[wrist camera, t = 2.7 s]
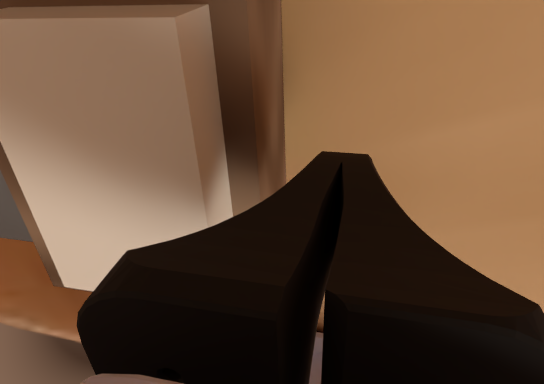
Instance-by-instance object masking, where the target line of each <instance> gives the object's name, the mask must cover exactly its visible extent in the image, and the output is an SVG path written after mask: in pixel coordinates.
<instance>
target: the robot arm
mask: <svg viewBox="0 0 544 384" xmlns="http://www.w3.org/2000/svg"><path fill="white" fill-rule="evenodd" d="M324 293H325V306H324V328H323V333H320V332H316V330H317V323H318V319H319V314H320V309H321V305H322V301H323V297H324ZM77 328H78V332H79V336H80V339H81V343H82V345H83V347H84V350H85V352H86V354H87V356H88V358H89V361H90V363H91V365H92V367H93V369H94V372H95V374H96V375H94V376H90V377H89V378H87V379H86V380H84V381H83V382H81V383H80V384H544V313H543V311H542V309H541V307H540V306H539V305H538V304H536V303H535V302H533V301H531V300H529V299H527V298H525V297H523V296H521V295H519V294H517V293H516V292H514V291H512V290H510V289H508V288H506V287H504V286H502V285H500V284H498V283H497V282H495V281H493V280H491V279H489V278H488V277H486V276H484V275H483V274H481V273H479V272H478V271H476V270H475V269H473V268H472V267H470V266H468V265H467V264H465V263H464V262H462V261H461V260H459V259H458V258H457V257H455V256H454V255H452V254H451V253H449V252H448V251H447V250H446V249H444V248H443V247H442V246H440V245H439V244H438V243H437V242H435V241H434V240H433V239H432V238H430V237H429V236H428V235H427V234H426V233H425V232H424V231H422V230H421V229H420V228H419V227H418V226H417V225H416V224H415V223H414V222H413V221H412V220H411V219H410V218H409V217H408V215H407V214H406V213H405V212H404V211H403V210H402V208H401V207H400V206H399V205H398V203H397V202H396V201H395V199H394V198H393V197H392V195H391V194H390V192H389V191H388V189H387V188H386V186H385V185H384V183H383V181H382V180H381V178H380V176H379V174H378V173H377V171H376V169H375V167H374V164H373V162H372V159H371V157H370V156H369V155H368V154H355V153H340V152H325V151H322V152H321V153H319V154H318V155H317V156H316V157H315V158H314V159H313V160H312V161H311V162H310V163H309V164H308V165H307V166H306V167H305V168H304V169H303V170H302V171H301V172H299V173H298V174H297V175H296V176H295V177H294V178H293V179H291V180H290V181H289V182H288V183H287V184H286V185H284V186H283V187H282V188H280V189H279V190H278V191H276V192H275V193H274V194H272V195H271V196H269V197H268V198H266V199H265V200H263V201H262V202H260V203H258V204H257V205H255V206H253V207H251V208H250V209H248V210H246V211H244V212H242V213H240V214H238V215H236V216H234V217H231V218H229V219H227V220H225V221H223V222H221V223H218V224H216V225H214V226H211V227H209V228H206V229H203V230H201V231H198V232H195V233H192V234H189V235H186V236H183V237H179V238H176V239H173V240H169V241H165V242H161V243H157V244H153V245H149V246H145V247H140V248H136V249H131V250H127V251H126V252H125V254H124V255H123V256H122V257H121V258H120V259H119V260H118V262H117V263H116V264H115V265H114V266H113V268H112V269H111V270H110V271H109V272H108V274H107V275H106V276H105V277H104V279H103V280H102V281H101V282H100V284H99V285H98V286H97V287H96V289H95V290H94V291H93V292H92V294H91V295H90V296H89V297H88V299H87V300H86V301H85V303H84V304H83V306H82V307H81V309H80V310H79V312H78V318H77Z"/></svg>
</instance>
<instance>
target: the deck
mask: <svg viewBox="0 0 544 384" xmlns="http://www.w3.org/2000/svg"><path fill="white" fill-rule="evenodd" d="M184 4H209V12H210V21H211V30H212V38H213V47H214V56H215V64H216V73H217V82H218V91H219V99H220V108H221V117H222V125H223V134H224V143H225V151H226V160H227V169H228V177H229V186H230V195H231V204H232V212H233V217H234V216H236V215H238V214H240V213H242V212H244V211H246V210H248V209H250V208H251V207H253V206H255V205H257V204H258V203H260V202H262V201H263V200H265V199H266V198H268V197H269V196H271V195H272V194H274V193H275V192H276V191H278V190H279V189H280V188H282V187H283V186H284V185H286V170H285V133H284V96H283V60H282V23H281V0H0V9H3V8H8V7H58V6H121V5H184ZM0 171H1V173H2V175H3V177H4V179H5V181H6V184H7V186H8V188H9V190H10V192H11V194H12V197H13V199H14V201H15V203H16V205H17V207H18V210H19V212H20V214H21V216H22V218H23V221H24V223H25V225H26V227H27V229H28V231H29V234H30V236H31V238H32V240H33V242H34V244H35V247H36V249H37V251H38V253H39V255H40V257H41V260H42V262H43V264H44V266H45V268H46V271H47V273H48V275H49V277H50V279H51V281H52V284H53V286H57V287H64V285H63V283H62V280H61V278H60V276H59V273H58V271H57V269H56V267H55V264H54V262H53V260H52V258H51V255H50V253H49V251H48V248H47V246H46V244H45V242H44V239H43V237H42V235H41V233H40V230H39V228H38V226H37V224H36V221H35V219H34V217H33V214H32V212H31V210H30V208H29V205H28V203H27V201H26V199H25V196H24V194H23V192H22V189H21V187H20V185H19V183H18V180H17V178H16V176H15V174H14V171H13V169H12V167H11V164H10V162H9V160H8V158H7V155H6V153H5V151H4V149H3V146H2V144H1V142H0ZM64 288H68V287H64ZM70 289H74V288H70ZM76 290H81V289H76ZM83 291H87V290H83ZM89 292H93V291H89Z"/></svg>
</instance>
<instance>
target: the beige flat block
mask: <svg viewBox="0 0 544 384" xmlns="http://www.w3.org/2000/svg"><path fill="white" fill-rule="evenodd" d="M0 142H1V144H2V146H3V149H4V151H5V153H6V155H7V158H8V160H9V162H10V164H11V167H12V169H13V171H14V174H15V176H16V178H17V180H18V183H19V185H20V187H21V189H22V192H23V194H24V196H25V199H26V201H27V203H28V205H29V208H30V210H31V212H32V214H33V217H34V219H35V221H36V224H37V226H38V228H39V230H40V233H41V235H42V237H43V239H44V242H45V244H46V246H47V248H48V251H49V253H50V255H51V258H52V260H53V262H54V264H55V267H56V269H57V271H58V273H59V276H60V278H61V280H62V283H63V285H64V287H68V288H74V289H81V290H87V291H94V290H95V289H96V287H97V286H98V285H99V284H100V282H101V281H102V280H103V279H104V277H105V276H106V275H107V274H108V272H109V271H110V270H111V269H112V268H113V266H114V265H115V264H116V263H117V262H118V260H119V259H120V258H121V257H122V256H123V255H124V254H125V252H126V251H127V250H131V249H136V248H140V247H145V246H149V245H153V244H157V243H161V242H165V241H169V240H173V239H176V238H179V237H183V236H186V235H189V234H192V233H195V232H198V231H201V230H203V229H206V228H209V227H211V226H214V225H216V224H218V223H221V222H223V221H225V220H227V219H229V218H231V217H233V212H232V204H231V195H230V186H229V177H228V169H227V160H226V151H225V143H224V134H223V125H222V117H221V108H220V99H219V91H218V82H217V73H216V64H215V56H214V47H213V38H212V30H211V21H210V12H209V4H184V5H121V6H58V7H8V8H3V9H0Z"/></svg>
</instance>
